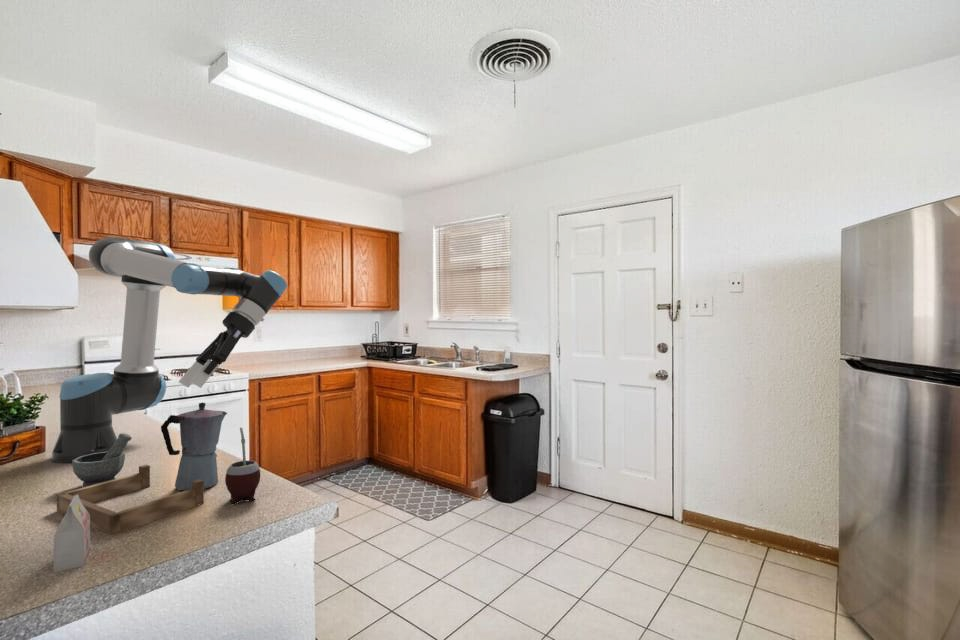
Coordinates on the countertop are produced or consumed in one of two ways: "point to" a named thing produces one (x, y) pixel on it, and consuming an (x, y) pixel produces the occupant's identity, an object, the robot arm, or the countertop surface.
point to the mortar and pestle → (101, 463)
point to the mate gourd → (242, 477)
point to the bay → (131, 516)
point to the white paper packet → (72, 537)
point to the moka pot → (196, 445)
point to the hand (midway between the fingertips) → (189, 384)
